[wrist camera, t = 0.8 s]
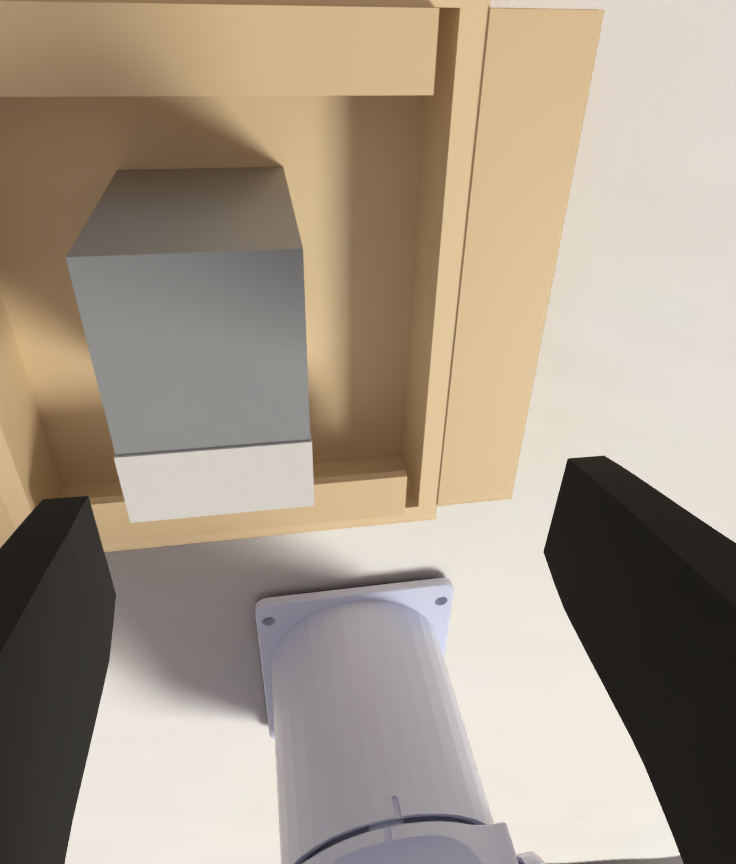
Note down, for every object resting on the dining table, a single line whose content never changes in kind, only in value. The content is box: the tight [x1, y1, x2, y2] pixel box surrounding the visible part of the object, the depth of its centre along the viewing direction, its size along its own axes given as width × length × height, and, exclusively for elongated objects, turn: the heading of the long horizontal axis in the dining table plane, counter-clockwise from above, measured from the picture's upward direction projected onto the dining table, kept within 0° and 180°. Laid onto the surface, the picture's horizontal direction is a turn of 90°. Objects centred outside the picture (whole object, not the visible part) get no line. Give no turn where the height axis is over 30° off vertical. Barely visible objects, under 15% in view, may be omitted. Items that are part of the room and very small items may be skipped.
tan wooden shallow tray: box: [0, 0, 604, 552], centre depth 17 cm, size 14×17×3 cm
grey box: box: [66, 167, 314, 523], centre depth 15 cm, size 6×4×6 cm
